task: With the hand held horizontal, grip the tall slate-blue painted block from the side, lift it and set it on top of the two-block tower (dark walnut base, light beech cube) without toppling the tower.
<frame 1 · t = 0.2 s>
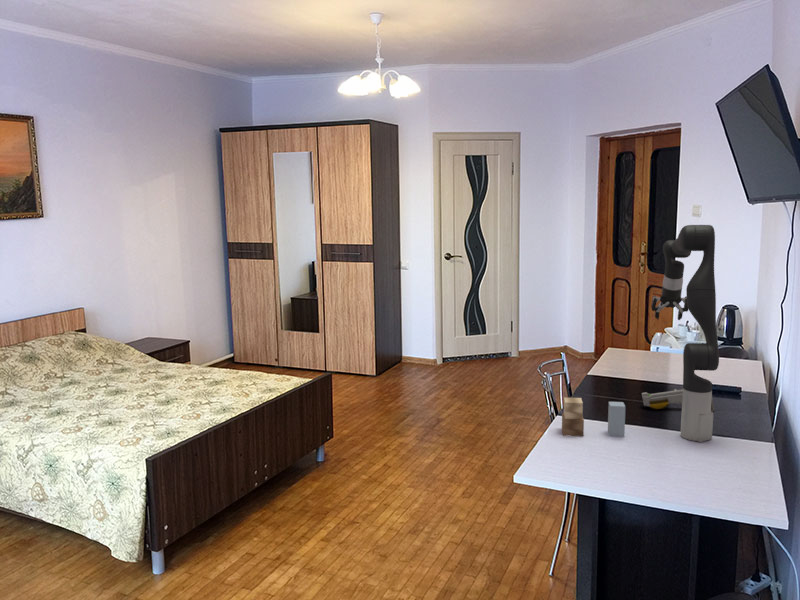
hand: (668, 318, 279), 31 cm above the table, tool tilted 20°, fingers open, 8 cm apart
walnut block: (572, 432, 236), on the table, touching beech block
beech block: (572, 416, 235), point 6 cm above the table, touching walnut block
figurine: (691, 399, 272), on the table
toy: (677, 410, 258), on the table
slate block: (615, 433, 234), on the table
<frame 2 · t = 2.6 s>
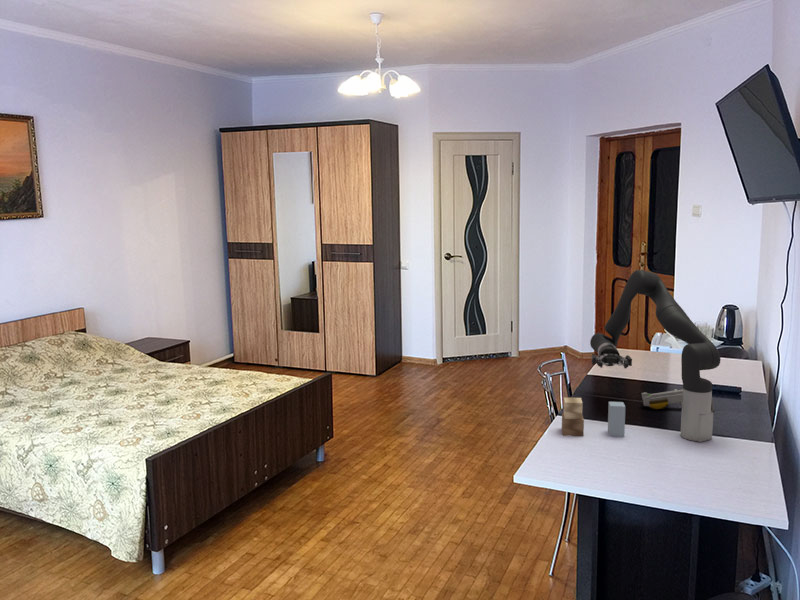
hand: (613, 365, 241), 22 cm above the table, tool horizontal, fingers open, 8 cm apart
nothing on the table moved.
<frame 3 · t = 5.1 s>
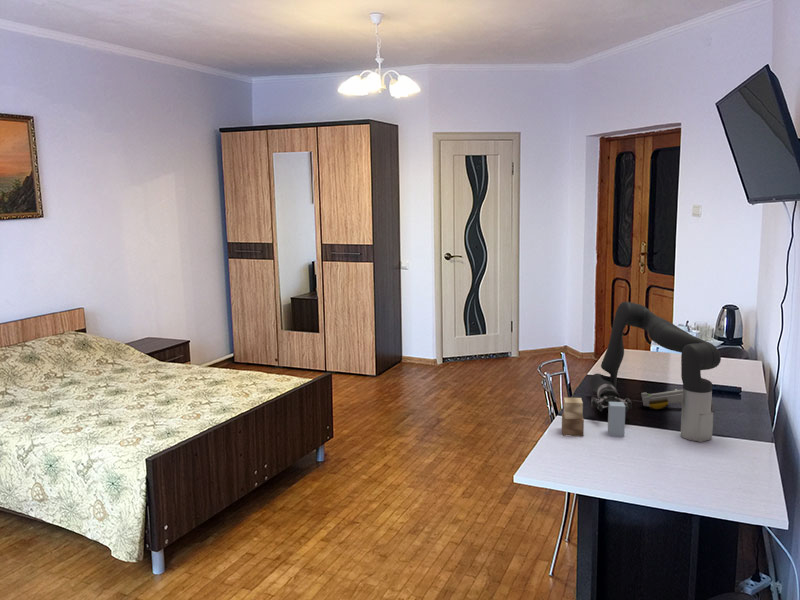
hand: (613, 409, 240), 7 cm above the table, tool horizontal, fingers open, 8 cm apart
nothing on the table moved.
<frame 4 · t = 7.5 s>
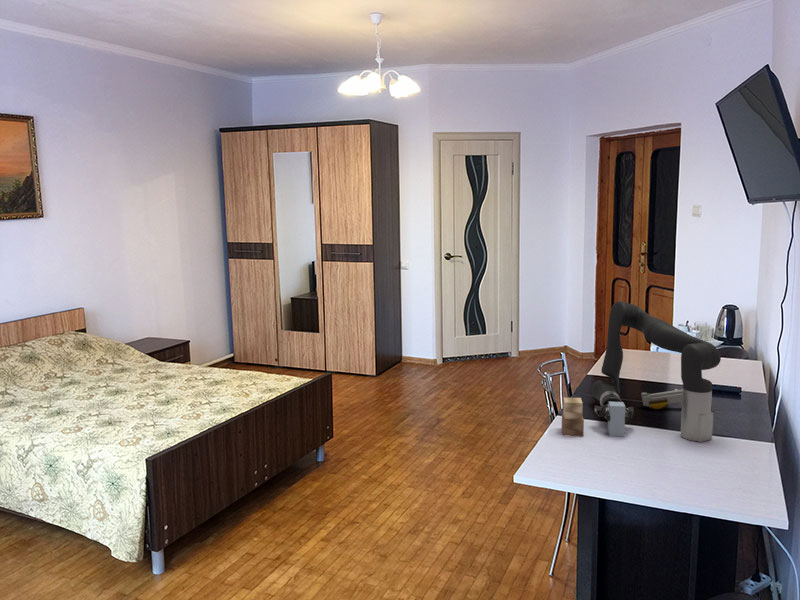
hand: (617, 418, 230), 7 cm above the table, tool horizontal, fingers closed on slate block, 5 cm apart
slate block: (615, 433, 234), on the table, touching gripper
everything else where it was.
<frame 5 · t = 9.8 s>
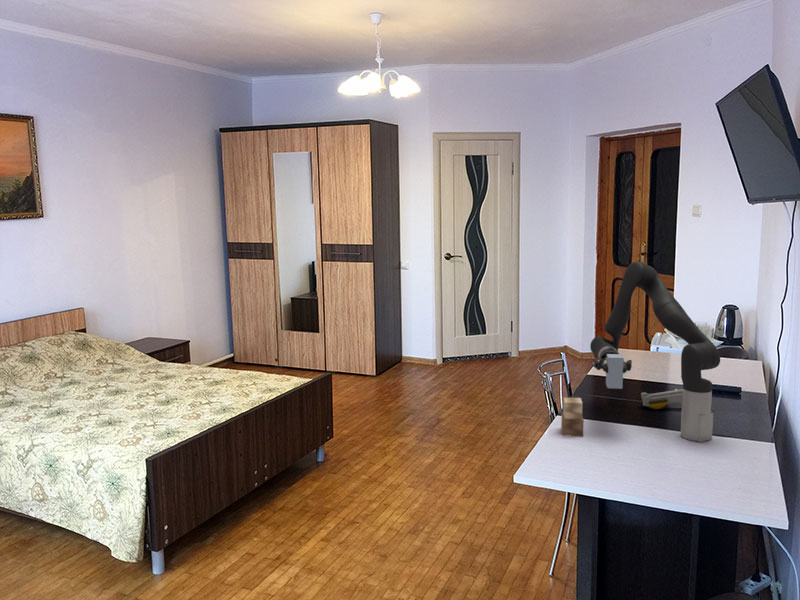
hand: (615, 370, 228), 24 cm above the table, tool horizontal, fingers closed on slate block, 5 cm apart
slate block: (614, 386, 231), point 17 cm above the table, touching gripper
everything else where it was.
when the fingers open (19 cm above the table, at t = 12.3 s): slate block stays where it is, resting on beech block.
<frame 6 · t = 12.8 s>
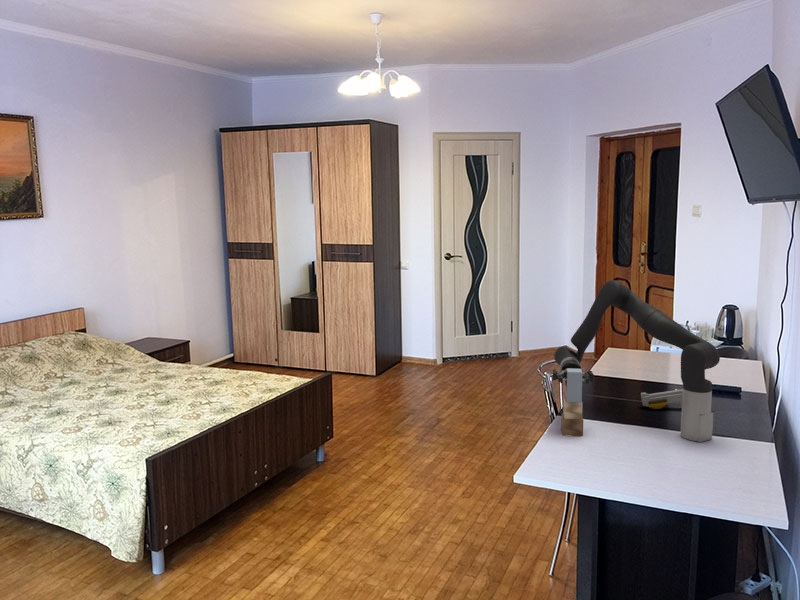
hand: (574, 381, 231), 20 cm above the table, tool horizontal, fingers open, 8 cm apart
beech block: (572, 416, 235), point 6 cm above the table, touching slate block, walnut block
slate block: (573, 400, 234), point 12 cm above the table, touching beech block
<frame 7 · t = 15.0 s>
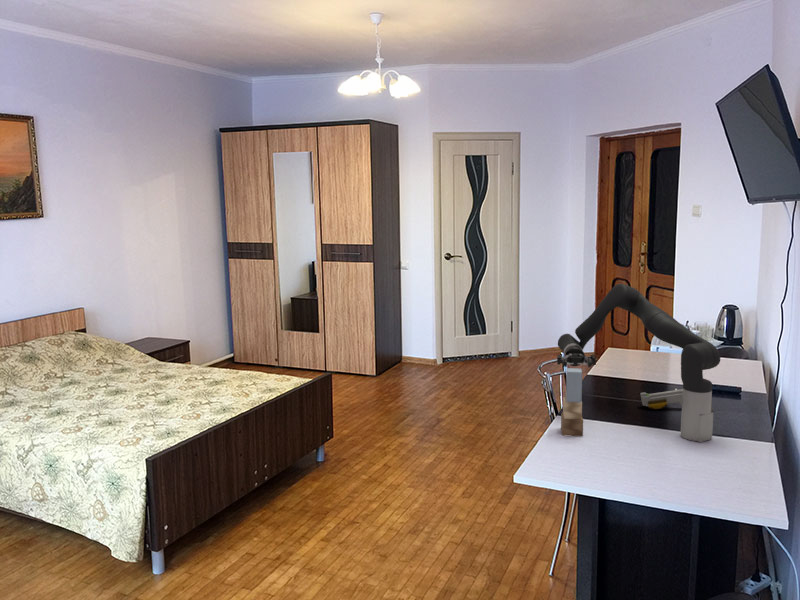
hand: (577, 364, 244), 22 cm above the table, tool horizontal, fingers open, 8 cm apart
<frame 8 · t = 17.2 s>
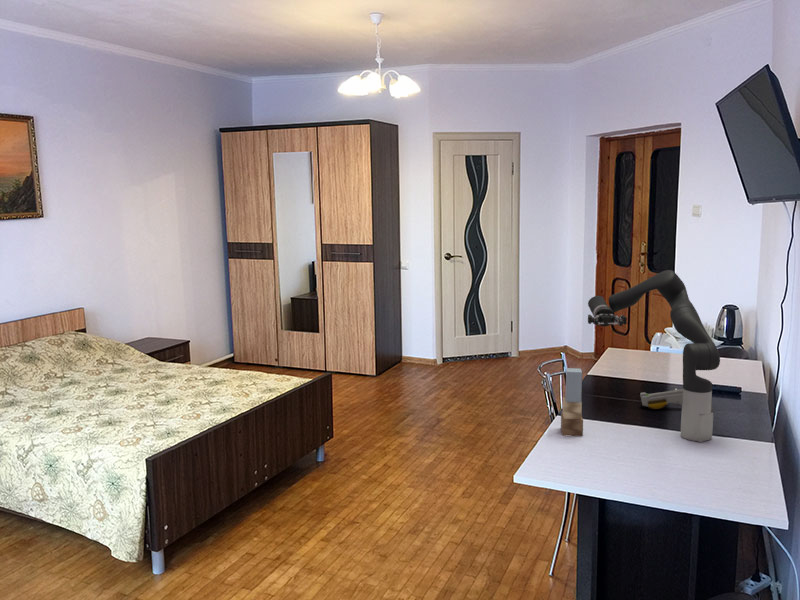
hand: (609, 323, 248), 36 cm above the table, tool horizontal, fingers open, 8 cm apart
at the end: slate block 0.4 cm off-centre on the beech block, point 6.0 cm above the beech block's base; slate block tilted 0°; beech block tilted 0° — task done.
